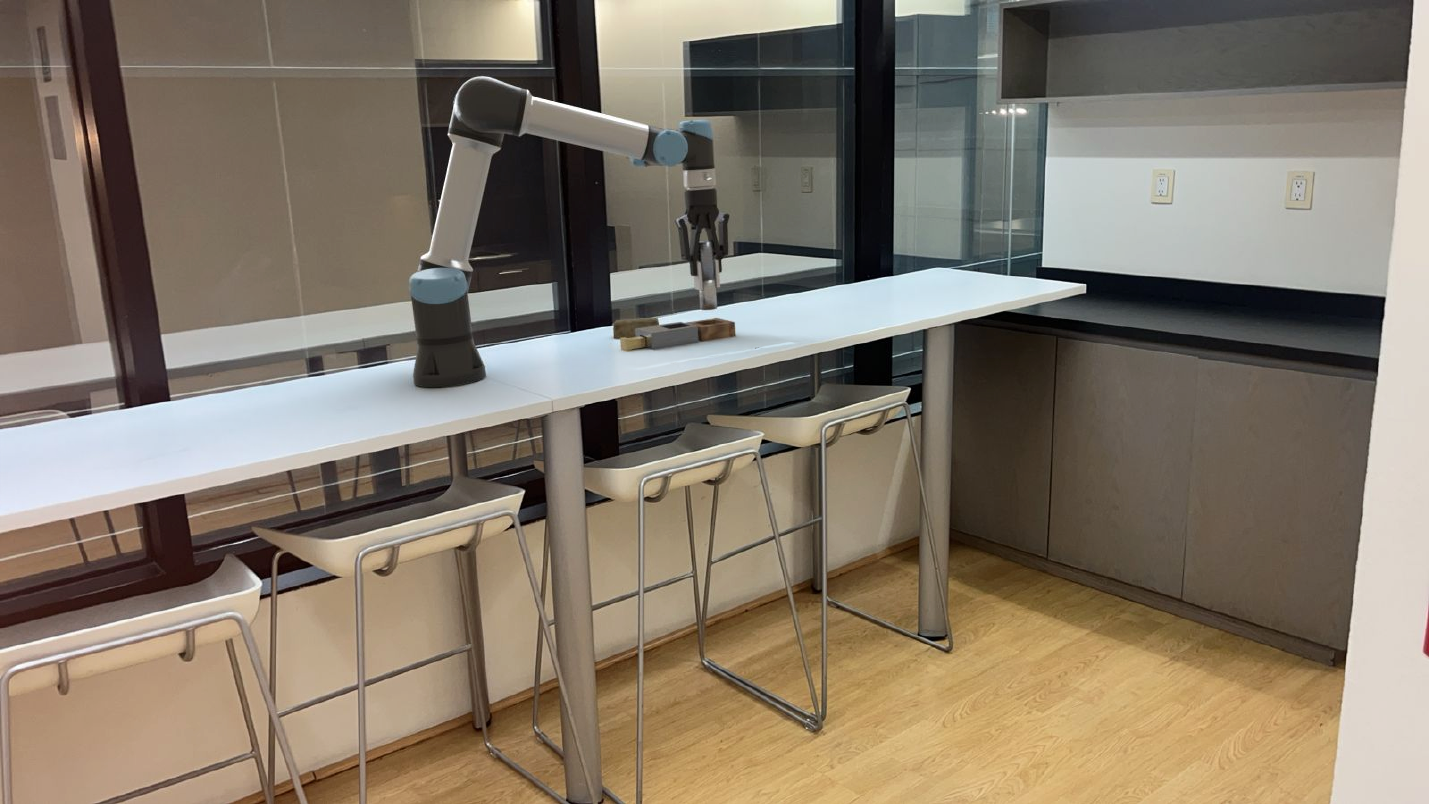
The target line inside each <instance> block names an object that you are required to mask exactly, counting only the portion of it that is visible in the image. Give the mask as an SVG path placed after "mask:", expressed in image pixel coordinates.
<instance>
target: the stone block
mask: <svg viewBox="0 0 1429 804" xmlns="http://www.w3.org/2000/svg"><path fill="white" fill-rule="evenodd" d="M656 325H660V321H659V317H640V318H639V317H637V318H636V317H635V318H625V319H616V320H615V321H614V322H613V324H612V326H613V327H612V331H613V332H612V333H613V339H617V340H618V339H619V340H620V338H623V337H626V338H633V337H636V334H635V329H636V328H643V327H649V326H656Z"/></svg>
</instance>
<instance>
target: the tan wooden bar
mask: <svg viewBox="0 0 1429 804" xmlns="http://www.w3.org/2000/svg"><path fill="white" fill-rule="evenodd" d="M619 340H620V342H619V343H620V350H621V351H624V352H632V350H636V349H641V348H647V338H646V336H639V337H633V338H626V337H623V338H620V339H619Z"/></svg>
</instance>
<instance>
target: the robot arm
mask: <svg viewBox="0 0 1429 804" xmlns="http://www.w3.org/2000/svg"><path fill="white" fill-rule="evenodd" d="M453 98H454V99H453V102H452V107H453V109H452V113H451V118H450V123H449V125H448V126H449V127H448V131H447V136H448V138H449V140H450V141H451V143H452V147H451V151H450V156H449V160H448V165H447V170H446V174H445V179H444V183H443V188H442V192H441V196H440V197H441V198H440V202H439V206H438V209H437V215H436V219H435V223H434V227H433V233H432V238H431V240H430V241H431V242H430V246H429V250H428V251H427V253H425V254H423V255H421V256H420V259H419V263H418V268H417V272H414V273H413V274H412V275H410V278H409V285H408V291H409V294H410V299H411V307H412V314H413V322H414V328H415V335H416V343H417V344H416V345H417V350H416V357H415V361H414V362H415V363H414V367H413V371H412V372H413V373H412V376H413V384H414V385H415V386H417V387H421V388H444V387H445V388H446V387H447V388H448V387H454V386H455V387H456V386H461V385H466V384H471V383H474V382H477V381H481V380H483V379H485V378H486V377H487V374H486V366H485V364H484V363H485V362H483V359H482V357H481V355H480V353H479V350H478V349H477V347H476V344H475V340H474V336H473V335H474V334H473V328H472V327H473V326H472V319H471V317H472V316H471V310H470V302H469V289H470V285H471V280H472V276H473V272H474V269H473V266H471V264H470V262H469V259H470V258H469V257H470V253H471V249H472V245H473V240H474V236H475V232H476V227H477V223H478V218H479V214H480V209H481V204H482V201H483V197H484V192H485V188H486V184H487V179H488V174H489V169H490V165H491V161H492V157H493V156H494V154H496V153H497V152H499V151H500V150H501V149H502V143H503V141H504V136H505V134H507V135H510V136H511V135H512V136H515V137H521V136H523V135H525V134H528V135H533V136H538V137H542V138H546V139H550V140H555V141H557V142H558V141H559V142H563V143H567V144H571V145H575V146H581V147H585V148H589V149H593V150H598V151H601V152H606V153H610V154H614V155H619V156H623V157H627V158H629V160H630V163H631V164H632V166H633V167H635V168H639V167H640V168H641V167H643V168H647V167H658V166H659V167H661V166H662V167H674V166H676V165H678V164H679V165H680V164H682V165H681V166H682V176H683V177H682V179H683V188H685V190H684V191H683V192H684V193H683V194H684V204H685V212H684V215H683V216H681V217H680V218H679V217H678V218H675V220H674V223H675V225H676V226H677V231H678V239H679V240H678V241H679V246H680V247H679V248H680V255H681V256H680V258H681V260H682V261H686V262H688V263H689V271H690V276H691V277H693V283H694V284H693V285H694V290H697V291H699V290H703V286H702V273H701V262H697V260H698V251H699V242H700V241H701V240H700V239H701V234H702V233H703V232H702V230H703V229H704V231H705V232H706V235H707V239H708V240H707V241H712V244H713V257H714V271H715V284H716V289H717V288H721V281H720V278H721V277H720V273H722V271H723V266H722V265H723V264H722V260H723V259H724V257H726V256H728V255H729V234H728V233H729V232H728V229H729V228H728V224H729V221H730V214H729V213H723V212H722V211H721V212H720V209H719V208H718V194H717V189H716V188H714V187H715V186H716V185H717V180H716V167H715V152H714V141H715V140H714V135H713V127H712V123H711V121H709V120H708V119H693V120H683V121H680V122H679V125H678V126H679V127H678V129H671V128H667V129H665V128H660V127H658V126H652V125H648V124H644V123H642V122H637V121H633V120H629V119H625V118H621V117H618V116H613V115H608V114H604V113H602V112H601V113H600V112H598V111H593V110H589V109H584V108H581V107H577V106H573V105H569V104H565V103H560V102H556V101H552V100H548V99H544V98H541V97H535V96H533V95H532V94H531V92H530V90H528V89H525V88H521V87H518V86H514V85H511V84H509V83H507V82H506V83H505V82H504V81H501V80H498V79H496V78H493V77H490V76H483V75H481V76H476V77H475V76H474V77H472V78H470V79H468V80H466V82H464V83H463V84H462V85H461V86H460V88H459V89H458V90H457V92H456V94H455V95H454V97H453ZM716 221H718V223H717V225H718V226H717V227H718V228H717V227H716V224H715V223H716ZM688 224H690V239H689V232H688V231H689V230H688ZM717 229H718V230H717ZM717 231H718V233H717ZM717 234H718V235H717Z"/></svg>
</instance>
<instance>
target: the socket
mask: <svg viewBox="0 0 1429 804" xmlns="http://www.w3.org/2000/svg"><path fill="white" fill-rule="evenodd" d="M635 334H636V337H639V336H646V338H647V347H646V348H647V349H649V350H652V351H653V350H659V349H666V348H673V347H677V346H679V347H680V346H685V345H690V344H697V343H699V342H700V341H698V326H695V325H691V324H687V323H686V322H683V321H679V322H678V321H676V322H670V323H664V324H659V325H656V326H649V327H643V328H636V329H635Z"/></svg>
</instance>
